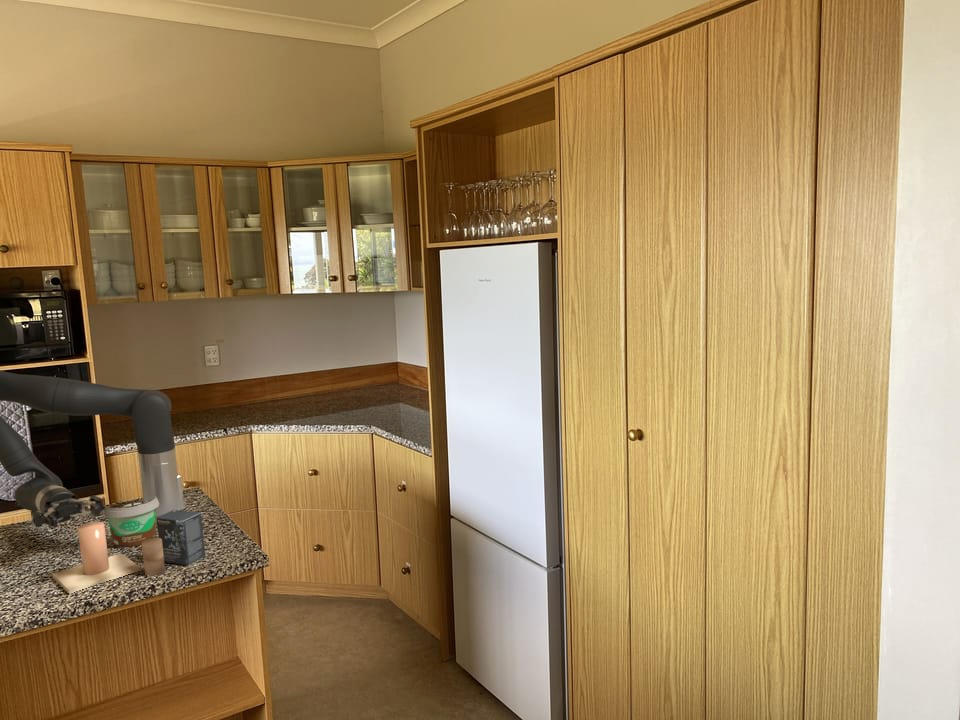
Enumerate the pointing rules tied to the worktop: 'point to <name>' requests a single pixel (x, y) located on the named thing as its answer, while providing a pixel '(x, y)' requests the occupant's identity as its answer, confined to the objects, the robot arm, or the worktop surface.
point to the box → (181, 536)
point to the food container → (132, 522)
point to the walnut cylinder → (153, 556)
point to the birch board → (78, 580)
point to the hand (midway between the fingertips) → (76, 517)
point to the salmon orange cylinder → (93, 548)
